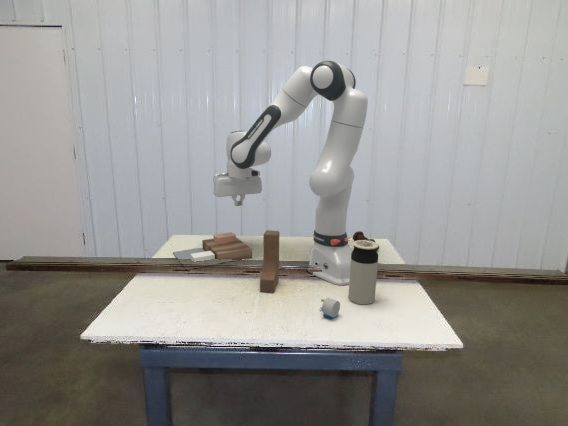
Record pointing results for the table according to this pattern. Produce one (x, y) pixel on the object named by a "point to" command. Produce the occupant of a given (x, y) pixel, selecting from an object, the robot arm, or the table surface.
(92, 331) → the table surface
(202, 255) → the cream tile
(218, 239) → the clay tile
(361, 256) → the travel mug
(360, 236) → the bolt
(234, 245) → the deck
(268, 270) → the wooden block
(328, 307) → the electric motor
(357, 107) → the robot arm
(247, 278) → the table surface
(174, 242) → the table surface
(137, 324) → the table surface
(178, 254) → the mat
